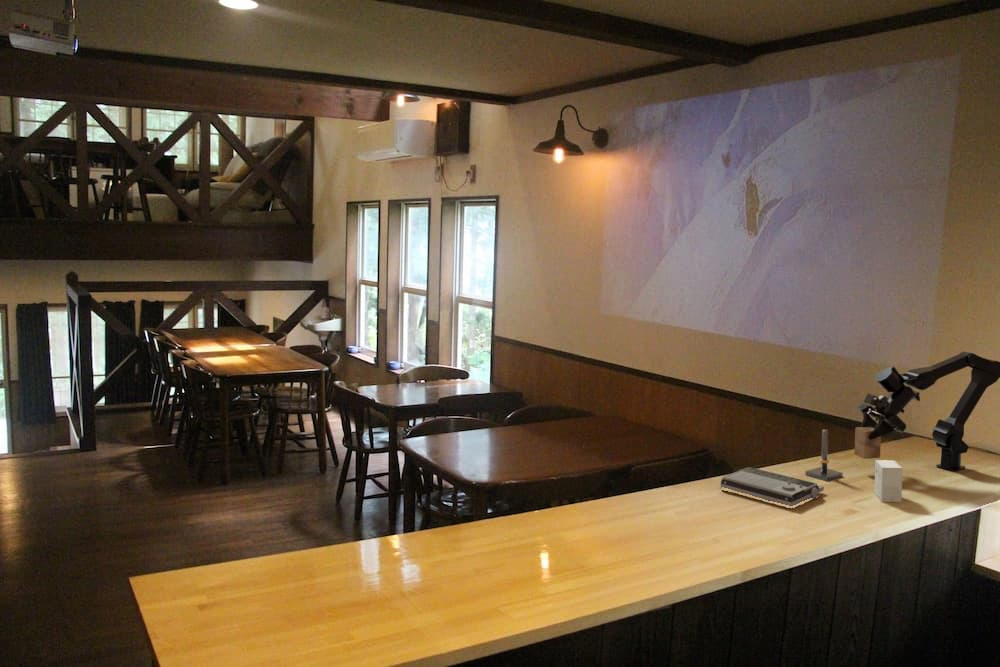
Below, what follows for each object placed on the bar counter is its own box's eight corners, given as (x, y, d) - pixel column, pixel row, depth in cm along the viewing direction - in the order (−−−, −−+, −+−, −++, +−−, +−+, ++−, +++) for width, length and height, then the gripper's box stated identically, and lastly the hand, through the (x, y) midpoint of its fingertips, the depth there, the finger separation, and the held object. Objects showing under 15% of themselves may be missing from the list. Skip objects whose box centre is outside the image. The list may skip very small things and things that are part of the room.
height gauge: (821, 470, 262) (822, 425, 260) (842, 476, 255) (843, 430, 253) (805, 474, 257) (806, 429, 255) (826, 481, 251) (828, 434, 249)
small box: (901, 502, 230) (903, 468, 228) (881, 502, 231) (882, 467, 230) (893, 493, 238) (895, 460, 236) (873, 493, 239) (875, 459, 237)
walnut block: (870, 453, 260) (871, 426, 258) (880, 457, 254) (881, 430, 253) (854, 454, 259) (855, 427, 258) (864, 458, 254) (865, 431, 252)
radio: (720, 475, 244) (756, 461, 256) (720, 491, 244) (755, 477, 257) (793, 494, 225) (827, 478, 238) (792, 512, 226) (827, 495, 239)
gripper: (864, 379, 263) (832, 413, 263) (898, 391, 245) (864, 427, 245) (885, 401, 265) (853, 435, 265) (921, 414, 247) (887, 450, 247)
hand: (863, 436), depth 256 cm, fingers closed on walnut block, 5 cm apart
